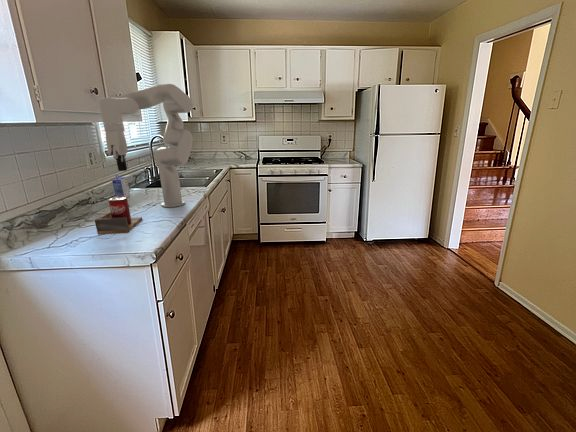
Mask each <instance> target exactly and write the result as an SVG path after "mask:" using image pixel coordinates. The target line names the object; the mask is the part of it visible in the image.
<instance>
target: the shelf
mask: <svg viewBox="0 0 576 432" xmlns="http://www.w3.org/2000/svg"><path fill="white" fill-rule="evenodd" d="M131 221H132V223H131V224H130V225H129V226H128V222H127V217H120V218H112V217H111V212H110V210H109V211H106V212H105V213H104V214H102V215H100V216H98V217H96V218H95V219H94V224H95V227H96V228H95V229H96V233H97V235H98V236H100V235H101V236H102V235H116V234H128V233H130V232H131V231H132V230H133V229H134V228H135V227H136V226H137V225H138V224H140V223H141V222H142V221H143V217H142V216H139V217H138V216H136V217H135V216H134V217H131Z"/></svg>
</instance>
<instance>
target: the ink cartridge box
mask: <svg viewBox="0 0 576 432" xmlns="http://www.w3.org/2000/svg"><path fill="white" fill-rule="evenodd" d="M114 176H115V179H113V180H111V182H112V186H113V190H114V194H115V197H126V198H127V199H128V198H129V197H130V196H131V193H130V192H131V191H130V187H129V182H128V178H127V177H126V176H121V177H120V175H118V174H114Z"/></svg>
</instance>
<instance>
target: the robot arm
mask: <svg viewBox="0 0 576 432" xmlns="http://www.w3.org/2000/svg"><path fill="white" fill-rule="evenodd" d="M160 104H162V108H163V110H164V113H165V116H166V117H167V118H166V119H167V123H166V126H165V130H164V134H163V138H162V143H163V145H164V146H165V147H164V146H163V147H158V149H156V150H155V152H154V158H155V162H156V165H157V167H158V172H159V177H160V178H159V179H160V185H161V190H162V198H163V202H162V203H160V204H161V207H163V208H175V207H181V206H183V205H185V204H186V201H185V200H183V199H182V198H183V197H182V190H181V184H180V177H179V171H178V169H177V167H176V166H184V165H186V164H187V163H188V161H189V159H190V154H191V151H192V147H193V143H194V142H193V141H194V139H193V135H192V133H191V132H190V130H187V129H186V128H185V129H184V126H185V125H184V121H183V119H182V118H181V116H180V114H186V113H191V112H192V110H193V108H194V104H193V100H192V98H190V96H188V94H186V93H185V91H183V90H182V89H181V88H180V87H178V86H176V85H175V84H172V83H164V84H163V83H162V84H155V85H152V86H150V87H149V86H148V87H146V88H143V89H139V90H135V91H132V92H129V93H125V94H124V93H123V94H120V95H116V96H113V97H101V98H99V99H98V105H99V108H100V109H99V110H100V113H101V114H100V115H101V119H102V124H103V127H104V132H105V141H106V148H107V154H108V155H109V156H111V157H112V156H113V159H114V160H115V163H116V165H117V170H118V171H119V172H126V171H127V170H128V167H127V161H126V157H127V153H128V151H129V149H128V144H127V139H126V137H125V133H124V132H125V125H124V121H123V117H127V116H129V117H130V116H134V115H136V114H137V113H138V112H139V111H140V110H146V109H147V110H148V109H151V108H153V107H155V106H157V105H160Z"/></svg>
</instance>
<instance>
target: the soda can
mask: <svg viewBox="0 0 576 432" xmlns="http://www.w3.org/2000/svg"><path fill="white" fill-rule="evenodd" d="M107 203H108V207H109V211H110V212H111V217H112V218H120V217H127V222H128V226H129V225H130V224H131V223H132V221H131V218H132V217H131V212H130V206H129V200H128V197H127V198H126V197H116V196H115V197H111V198H109V199H108V202H107Z"/></svg>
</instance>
